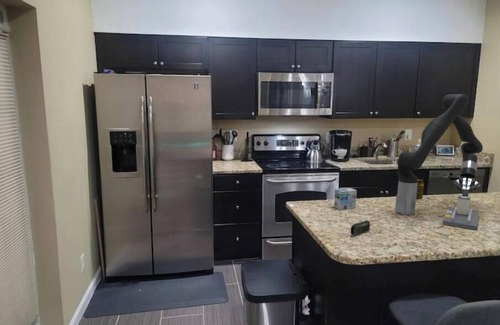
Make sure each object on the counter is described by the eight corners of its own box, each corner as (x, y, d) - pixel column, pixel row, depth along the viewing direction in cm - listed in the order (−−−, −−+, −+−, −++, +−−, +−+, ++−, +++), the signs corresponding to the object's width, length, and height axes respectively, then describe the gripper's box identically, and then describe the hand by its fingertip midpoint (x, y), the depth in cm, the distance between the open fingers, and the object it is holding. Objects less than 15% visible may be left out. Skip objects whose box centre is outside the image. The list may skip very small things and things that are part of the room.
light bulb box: (339, 210, 193) (340, 191, 191) (333, 206, 199) (334, 188, 197) (356, 208, 195) (357, 190, 194) (349, 205, 202) (350, 187, 200)
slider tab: (457, 211, 182) (458, 195, 181) (468, 213, 179) (470, 196, 178) (456, 213, 179) (458, 197, 178) (468, 215, 176) (469, 198, 175)
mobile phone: (365, 219, 163) (348, 225, 153) (371, 220, 160) (354, 227, 150) (364, 229, 163) (347, 236, 153) (370, 231, 161) (353, 238, 151)
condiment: (424, 198, 218) (426, 179, 216) (419, 200, 212) (421, 181, 210) (413, 196, 223) (414, 178, 221) (407, 198, 217) (409, 180, 216)
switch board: (448, 210, 192) (448, 204, 191) (478, 215, 184) (479, 208, 183) (442, 224, 169) (442, 217, 168) (476, 230, 161) (477, 223, 160)
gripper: (454, 165, 194) (450, 191, 186) (483, 167, 186) (480, 194, 178) (454, 173, 199) (450, 198, 191) (482, 175, 191) (479, 202, 183)
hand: (465, 196), depth 184 cm, fingers closed
